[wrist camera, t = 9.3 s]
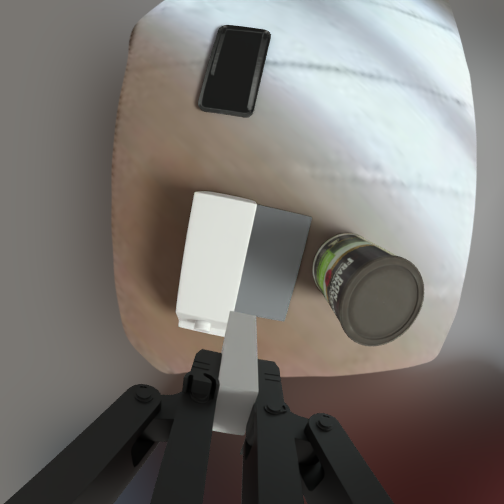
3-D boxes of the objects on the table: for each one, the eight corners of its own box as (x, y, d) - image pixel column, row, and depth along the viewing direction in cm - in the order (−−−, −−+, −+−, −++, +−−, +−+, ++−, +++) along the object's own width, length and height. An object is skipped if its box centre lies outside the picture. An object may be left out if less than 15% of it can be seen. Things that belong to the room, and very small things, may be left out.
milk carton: (256, 199, 38) (229, 325, 42) (204, 189, 37) (183, 315, 42) (257, 202, 31) (225, 350, 35) (194, 190, 31) (172, 338, 35)
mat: (198, 192, 38) (197, 192, 38) (311, 216, 39) (312, 217, 38) (180, 299, 41) (179, 300, 41) (283, 320, 42) (284, 321, 42)
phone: (272, 30, 32) (252, 117, 35) (271, 34, 33) (252, 119, 36) (219, 24, 31) (195, 109, 35) (220, 27, 32) (197, 111, 36)
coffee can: (304, 293, 41) (326, 342, 28) (322, 225, 39) (357, 246, 25) (364, 304, 42) (404, 349, 28) (384, 241, 40) (436, 266, 26)
